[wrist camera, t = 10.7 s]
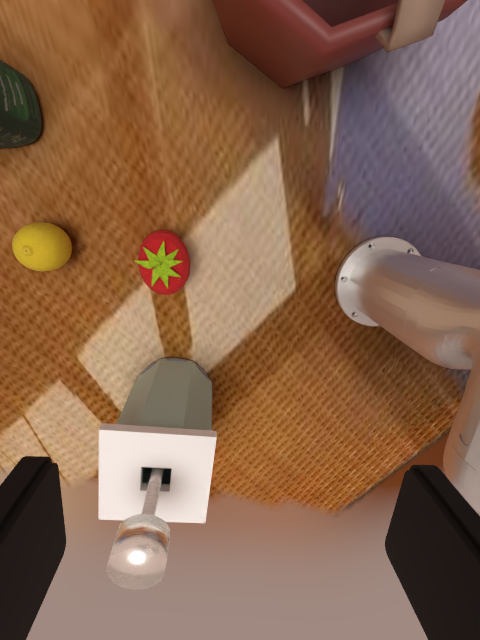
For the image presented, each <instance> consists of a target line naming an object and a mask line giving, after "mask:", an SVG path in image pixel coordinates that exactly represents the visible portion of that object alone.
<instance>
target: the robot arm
mask: <svg viewBox="0 0 480 640" xmlns="http://www.w3.org/2000/svg"><path fill="white" fill-rule="evenodd" d="M369 244H370V247H369V248H368V246H369ZM407 251H408V252H407ZM342 276H343V279H342V280H341V277H342ZM335 294H336V298H337V301H338V304H339V306H340V307H341V309H342V311H343V312H344V313H345V314H346V315H347V316H348V317H349V318H351V319H352V320H354V321H355V322H357V323H359V324H362V325H366V326H381V327H382V328H384V329H385V330H386V331H388V332H389V333H391V334H392V335H393V336H395V337H396V338H398V339H399V340H400V341H402V342H403V343H404V344H406V345H407V346H409V347H410V348H411V349H413V350H414V351H416V352H417V353H418V354H420V355H421V356H423V357H424V358H426V359H427V360H429V361H431V362H432V363H435V364H437V365H440V366H442V367H446V368H452V369H471V371H470V374H469V377H468V380H467V383H466V386H465V392H464V395H463V398H462V400H461V403H460V406H459V409H458V411H457V414H456V417H455V420H454V422H453V425H452V428H451V431H450V434H449V437H448V439H447V443H446V446H445V450H444V456H443V465H444V471H445V474H446V476H447V477H446V476H445V475H444V474H443V472H442V471H441V470H440V469H439V468H438V467H437V466H434V465H413V466H411V468H410V470H407V471H406V472H405V475H404V478H403V481H402V485H401V488H400V492H399V495H398V498H397V502H396V506H395V509H394V512H393V516H392V519H391V522H390V526H389V529H388V533H387V536H386V540H385V548H386V553H387V555H388V558H389V560H390V562H391V564H392V566H393V568H394V570H395V572H396V574H397V576H398V578H399V580H400V582H401V584H402V587H403V589H404V590H405V593H406V595H407V597H408V599H409V601H410V603H411V605H412V607H413V609H414V611H415V613H416V615H417V617H418V619H419V621H420V623H421V626H422V628H423V630H424V632H425V634H426V636H427V638H428V640H480V516H479V515H478V514H477V513H476V511H477V512H478V513H480V270H478V269H474V268H468V267H464V266H460V265H456V264H452V263H447V262H443V261H439V260H435V259H431V258H426V257H422V256H421V254H420V253H419V252H418V250H417V249H416V248H415V247H414V246H413V245H411V244H410V243H409V242H407V241H405V240H403V239H399V238H395V237H388V236H384V237H376V238H372V239H369V240H367V241H365V242H362V243H361V244H359V245H358V246H356V247H355V248H354V249H353V250H352V251H351V252H350V253H349V254H348V255H347V256H346V257H345V259H344V260H343V261H342V263H341V265H340V267H339V269H338V272H337V275H336V279H335ZM353 312H354V313H353ZM352 313H353V314H352ZM65 546H66V534H65V525H64V516H63V507H62V498H61V488H60V479H59V470H58V465H57V463H52V461H51V458H50V457H34V456H25V457H23V458H22V459H21V460H20V461H19V462H18V464H17V465H16V466H15V467H14V469H13V470H12V471H11V473H10V474H9V475H8V476H7V478H6V479H5V480H4V482H3V483H2V484H1V485H0V640H26V638H27V636H28V633H29V631H30V629H31V627H32V624H33V622H34V620H35V618H36V615H37V613H38V611H39V609H40V607H41V604H42V602H43V600H44V598H45V595H46V593H47V591H48V588H49V586H50V584H51V582H52V580H53V577H54V575H55V573H56V571H57V568H58V566H59V563H60V562H61V559H62V557H63V554H64V551H65Z"/></svg>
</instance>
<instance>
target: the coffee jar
mask: <svg viewBox="0 0 480 640" xmlns="http://www.w3.org/2000/svg"><path fill="white" fill-rule="evenodd" d="M41 127H42V120H41V113H40V108H39V104H38V100H37V97H36V94H35V91H34V89H33V87H32V85H31V83H30V82H29V81H28V79H27V78H26V77H25V76H24V75H23V74H21V73H20V72H18V71H17V70H15V69H14V68H12V67H11V66H9V65H7V64H6V63H4V62H2V61H1V60H0V148H12V147H19V146H23V145H27V144H30V143H32V142H34V141H35V140H36V139H37V138H38V136H39V135H40V132H41Z"/></svg>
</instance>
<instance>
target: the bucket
mask: <svg viewBox="0 0 480 640" xmlns="http://www.w3.org/2000/svg"><path fill="white" fill-rule="evenodd" d="M466 1H467V0H213V3H214V6H215V9H216V11H217V14H218V17H219V20H220V22H221V25H222V28H223V31H224V33H225V36H226V39H227V42H228V44H229V45H230V46H231V47H233V48H234V49H235V50H236V51H237V52H239V53H240V54H241V55H242V56H244V57H245V58H246V59H247V60H248V61H250V62H251V63H252V64H253V65H255V66H256V67H257V68H258V69H259V70H261V71H262V72H263V73H264V74H266V75H267V76H268V77H269V78H270V79H272V80H273V81H274V82H275V83H277V84H278V85H279V86H280V87H281V88H285V87H288V86H290V85H293V84H296V83H299V82H301V81H304V80H307V79H310V78H313V77H315V76H318V75H321V74H324V73H326V72H329V71H332V70H335V69H337V68H340V67H343V66H345V65H347V64H350V63H352V62H354V61H356V60H358V59H360V58H362V57H364V56H367V55H369V54H371V53H373V52H375V51H377V50H379V49H382V48H385V50H386V51H387V52H390V51H392V50H395V49H398V48H401V47H404V46H407V45H409V44H412V43H415V42H418V41H421V40H423V39H426V38H428V37H430V36H432V35H433V33H434V30H435V27H436V24H437V22H439V21H441V20H443V19H445V18H446V17H448V16H449V15H450V14H451V13H453V12H454V11H455V10H456V9H457V8H459V7H460V6H461V5H462V4H464V3H465V2H466Z"/></svg>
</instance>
